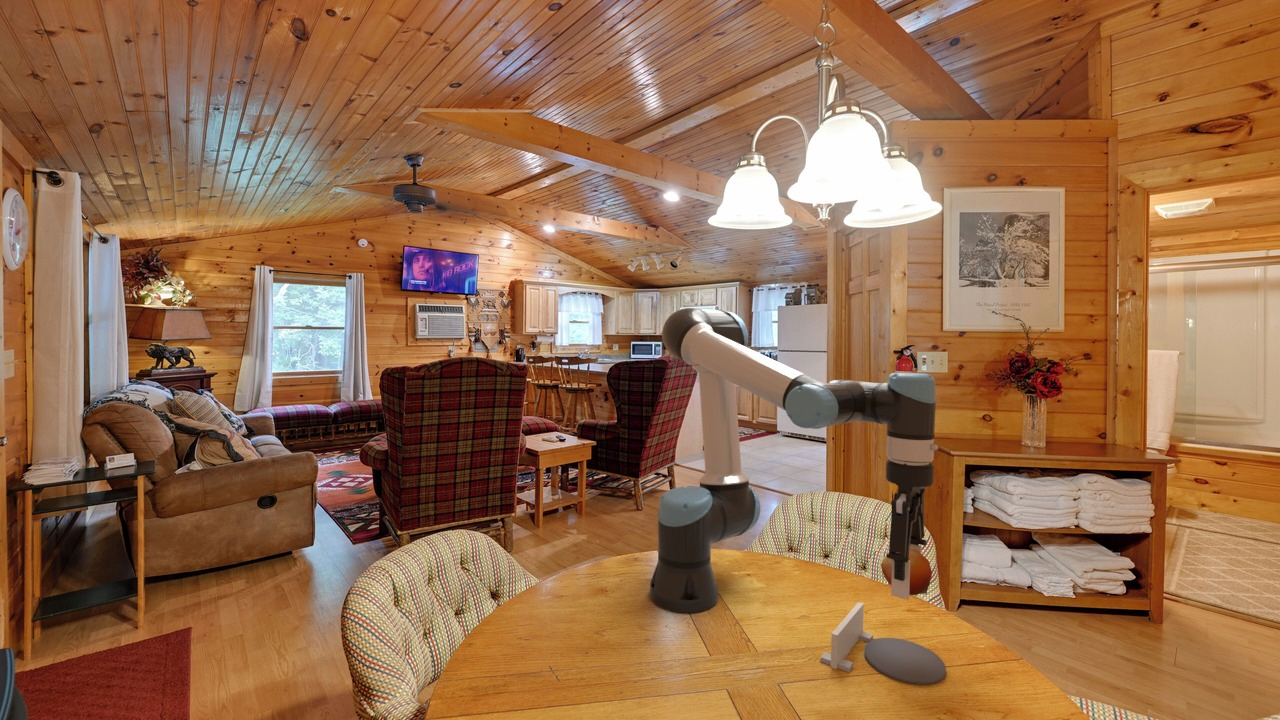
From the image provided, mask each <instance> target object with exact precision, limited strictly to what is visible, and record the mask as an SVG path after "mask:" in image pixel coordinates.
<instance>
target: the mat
mask: <svg viewBox="0 0 1280 720" xmlns="http://www.w3.org/2000/svg"><path fill="white" fill-rule="evenodd" d="M863 649H864V651H863V652H864V658H865V660H866V662H867V664H869V666H871V667H872V669H874V670H876V671H877V672H879V673H880V674H881V675H883V676H885V677H887V678H889V679H891V680H892V679H893V680H895V681H898V682H902V683H905V684H910V685H917V686H930V685H931V686H932V685H936V684H938V683H941V682H942V681H943V680H944V679H945V678H946V673H947V672H946V665H945V663H944V661H943V659H942V658H941V657H940V656H939V655H937V654H936V653H935V652H933V651H932V650H931V649H929V648H927V647H925V646H923V645H922V644H918V643H916V642H913V641H909V640H906V639H902V638H896V637H895V638H894V637H878V638H875V639H874V638H873V639H872V640H871V641H869V642H866V643H865V646H864V648H863Z"/></svg>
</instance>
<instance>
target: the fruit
mask: <svg viewBox="0 0 1280 720" xmlns="http://www.w3.org/2000/svg"><path fill="white" fill-rule="evenodd" d="M896 553H898V552H896ZM909 561H910V589H909V596H917V595H918V596H919V595H928V594H927V593H928V590H929V587H930V584H931V580H932V576H933V571H932V567H931V563H930V561H929V560H928V558H927V557H926V556H925V555H924V554H922V552H921V553H920V552H918V551H916V550H911V549H909ZM880 567H881V571H882V574H883V577H884V578H885V580H886V582H887V583H888V584H889V585H890V586H891V579H892V559H890V558H887V555H885V557H884V558H883V559H882V561H881V563H880Z"/></svg>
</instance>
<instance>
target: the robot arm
mask: <svg viewBox="0 0 1280 720" xmlns="http://www.w3.org/2000/svg"><path fill="white" fill-rule="evenodd" d="M661 335H662V342H663V345H664V347H665V349H666V350H667V351H668V352H669V354H671V355H672V356H673V357H675V358H676V359H677V360H680V361H681V362H683V363H685V364H687V365H689V366H691V368H692V369H693V370H695V371H696V373H698V381H699V397H700V411H701V412H700V414H701V428H702V429H701V430H702V444H703V459H704V460H703V461H704V474H703V475H702V476H701V478H700V479H699V486H696V485H688V486H677V487H673V488H672V489H668V490H667V491H665V493H663V494H662V495H661V497H660V499H659V502H658V503H659V504H658V506H659V507H658V511H657V522H658V525H657V529H658V531H657V533H658V534H657V535H658V536H657V537H658V542H657V543H658V544H657V545H658V546H657V563H656V565H655V568H654V572H653V575H652V577H651V581H650V583H649V598H650V600H651V601H652V603H654V604H655V605H656V606H658V607H659V608H661V609H664V610H666V611H669V612H675V613H684V614H685V613H687V614H689V613H690V614H691V613H699V612H703V611H707V610H710V609H711V608H713V607H714V606H715V605H716V604H717V603H718V600H719V587H718V584H717V581H716V577H715V574H714V571H713V567H712V563H711V559H712V558H711V557H712V555H711V554H712V553H711V551H712V550H711V549H712V545H713V544H716V543H718V542H721V541H725V540H727V539H731V538H733V537H734V538H735V537H739V536H742V535H743V534H745V533H746V532H749V531H750V530H752V529H753V528H754V527H755V525H757V523H758V520H759V518H760V515H761V501H760V498H759V495H758V493H756V491H755V488H753V486H751V485H749V484H750V483H749V482H750V481H749V477H747V476H746V474H745V473H743V471H742V462H741V461H742V460H741V448H740V447H741V445H740V432H739V430H740V429H739V419H738V418H739V417H738V404H737V403H738V402H737V388H736V386H739V387H741V388H742V389H743V390H745V391H748V392H749V393H752V394H753V395H755V396H757V397H759V398H761V399H763V400H765V401H766V402H768V403H770V404H772V405H773V406H776V407H778V408H780V409H782V410H784V411H785V412H786V415H787V417H788V418H789V420H790V421H791V423H792V424H794V425H795V426H797V427H800V428H803V429H811V430H812V429H818V430H820V429H823V428H826V427H831V426H836V425H841V424H843V425H844V424H848V423H854V422H863V423H873V424H881V425H886V445H885V446H886V449H885V452H886V453H885V456H886V457H887V460H886V462H885V463H886V464H885V480H887V481H888V482H889V483H891V484H895V485H896V486H897V492H895V493H894V495H893V496H894V497H893V498H892V499H891V502H890V504H891V505H890V507H891V508H890V509H891V514H890V515H891V517H890V518H891V519H890V529H889V530H890V533H889V548H888V553H886V556H887V558H890V559H892V579H891V585H890V588H891V589H890V596H893V597H895V598H899V599H903V600H907V601H909V600H910V595H909V589H910V561H909V549H911V550H916V551H918V552H920V553H921V554H922V546H924V547H925V546H927V543H928V541H927V539H924V538H925V536H926V534H925V492H926V491H925V490H926V489H925V488H929V487H931V486H933V484H934V473H935V471H934V469H935V468H934V467H935V466H934V464H933V463H931V462H933V461H934V457H935V451H938V450H939V445H937V444H935V426H936V425H935V424H936V409H937V407H936V404H937V398H936V397H937V395H936V380H935V378H934V377H933V375H931V374H928V373H918V372H917V373H916V372H915V373H914V372H892V373H889V375H888V377H887V378H888V379H887V381H886V382H872V381H861V380H851V379H833V380H830V381H829V382H822V381H820V380H819V379H816V378H813V377H811V376H808V375H806V374H805V373H803V372H801V371H798V370H797V369H794V368H792V367H790V366H788V365H786V364H784V363H781V362H779V361H777V360H774V359H773V358H770V357H768V356H766V355H764V354H762V353H759V352H758V351H755V350H753V349H751V348H749V347H748V343H749V332H748V329H747V325H746V323H745V322H744V321H743V319H742V318H741V317H740V316H739V315H737V314H736V313H734V312H731V311H726V310H723V309H706V308H692V307H688V308H687V307H686V308H681V309H678V310H675V312H673V313H671V314H670V315H669V316H668V318H666V320H665V322H664V324H663V326H662V332H661ZM896 552H898V553H896Z"/></svg>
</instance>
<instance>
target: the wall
mask: <svg viewBox="0 0 1280 720" xmlns="http://www.w3.org/2000/svg"><path fill="white" fill-rule="evenodd" d="M864 605H865V603H863V602H860V601H858V602H857V603H856V604H855V605H854V606H853V607H852V609H851V610H850V611H849V613H847V615H845V617H844V618H843V619H842V620H841V622H840V623H839V624H838V626H836V628H834V630H833V631H832V632H831V642H830V644H831V645H830V646H831V648H830V653H828V652H825V651H824V652H823V653H822V655H820V662H821V663H823V664H827V665H828V666H830V668H833V669H835V670H838V669H839V670H841V671H844V672H846V673H850V672H851V671H852V669H854V663H853V662H852V661H849V660H847V659H846V657H847V656H848V654H849V653H850V652H851V651H852V649H853V648H854V646H855V645H856V644H857V643H858V641H859V640H860V641H863V642H866V643H868V642H869V641H871V640H873V639H874V633H873V634H872V633H870V632H868V631H864V611H865V610H864V609H865V608H864Z"/></svg>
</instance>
